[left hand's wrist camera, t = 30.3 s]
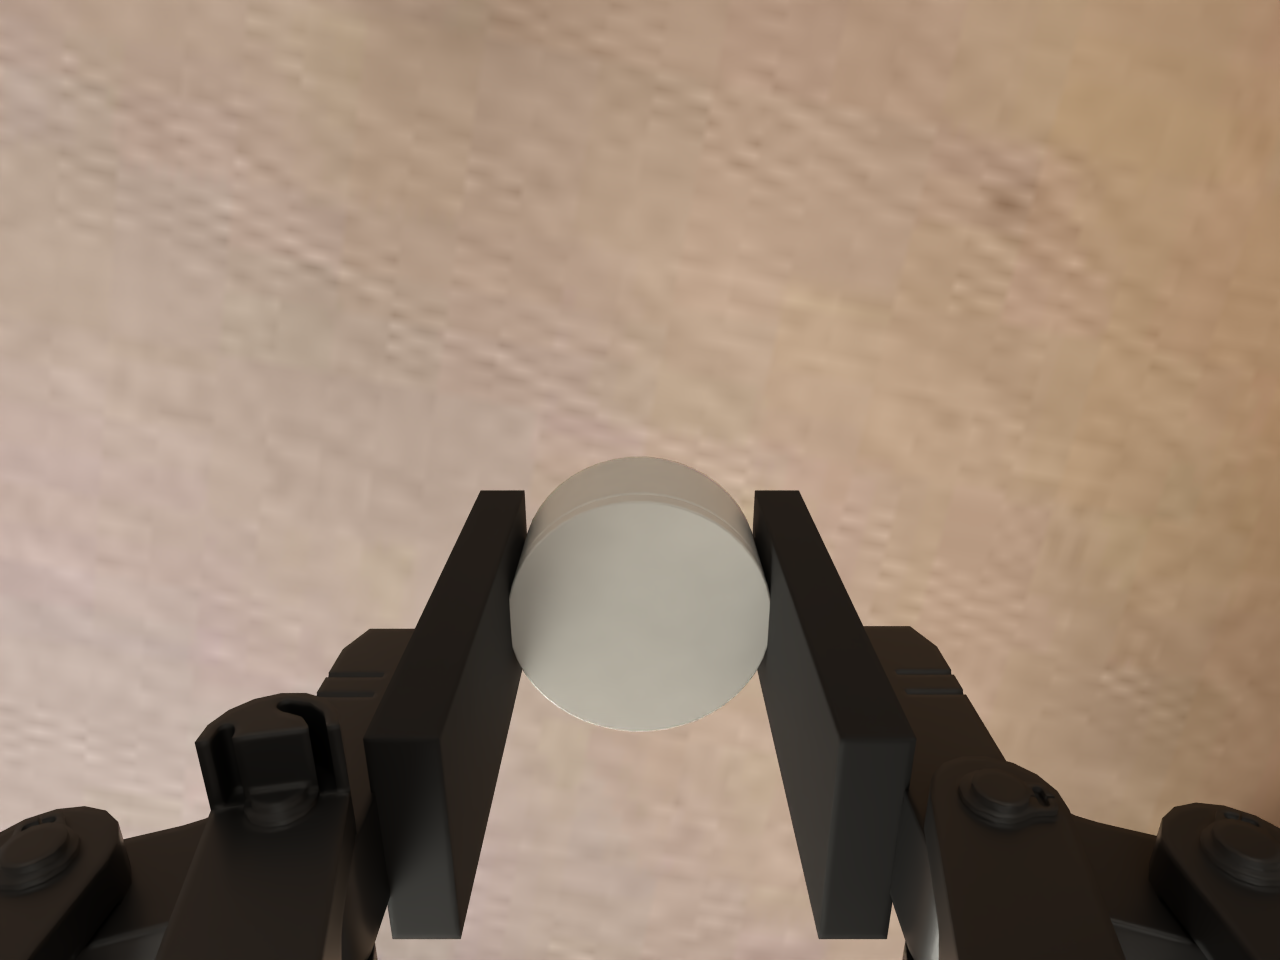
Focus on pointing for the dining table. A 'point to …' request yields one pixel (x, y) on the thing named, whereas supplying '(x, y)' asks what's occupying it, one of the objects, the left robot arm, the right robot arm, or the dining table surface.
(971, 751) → the left robot arm
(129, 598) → the dining table surface
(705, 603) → the cap
